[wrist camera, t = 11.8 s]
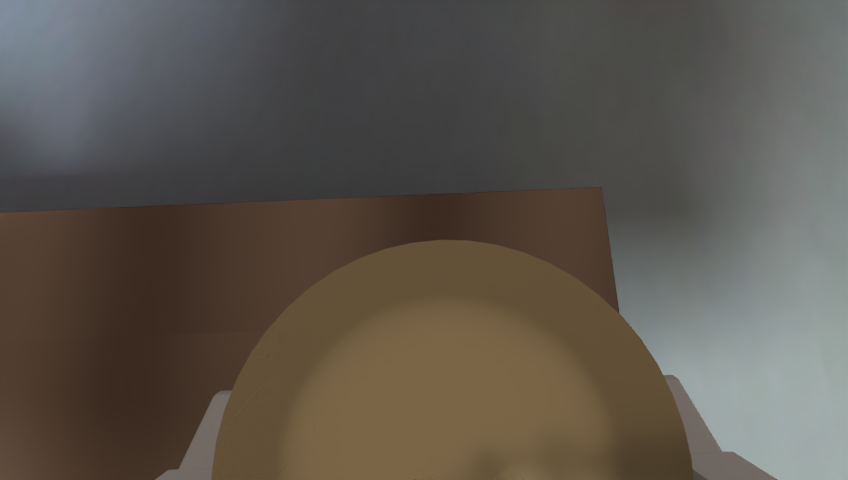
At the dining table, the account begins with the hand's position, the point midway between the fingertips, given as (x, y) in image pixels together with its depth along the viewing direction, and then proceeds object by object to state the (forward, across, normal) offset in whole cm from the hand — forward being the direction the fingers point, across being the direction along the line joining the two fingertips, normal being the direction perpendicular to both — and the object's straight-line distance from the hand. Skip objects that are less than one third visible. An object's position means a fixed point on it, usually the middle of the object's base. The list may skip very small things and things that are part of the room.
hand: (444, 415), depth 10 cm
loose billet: (+3, 0, +4) cm, 5 cm away
